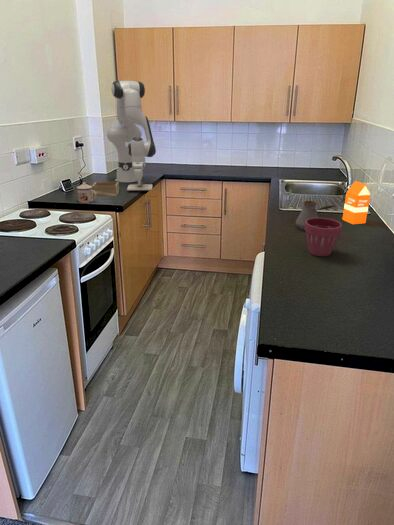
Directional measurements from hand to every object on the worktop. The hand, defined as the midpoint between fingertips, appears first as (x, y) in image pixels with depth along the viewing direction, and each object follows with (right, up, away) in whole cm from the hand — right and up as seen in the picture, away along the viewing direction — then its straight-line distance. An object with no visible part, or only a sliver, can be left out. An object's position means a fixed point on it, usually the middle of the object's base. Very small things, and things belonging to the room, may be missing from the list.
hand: (139, 184), depth 261 cm
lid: (0, -2, +1) cm, 2 cm away
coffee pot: (+94, -37, -75) cm, 126 cm away
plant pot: (+89, -48, -100) cm, 142 cm away
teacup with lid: (-27, -16, -26) cm, 41 cm away
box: (-21, -8, -8) cm, 23 cm away
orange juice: (+119, -31, -59) cm, 137 cm away
